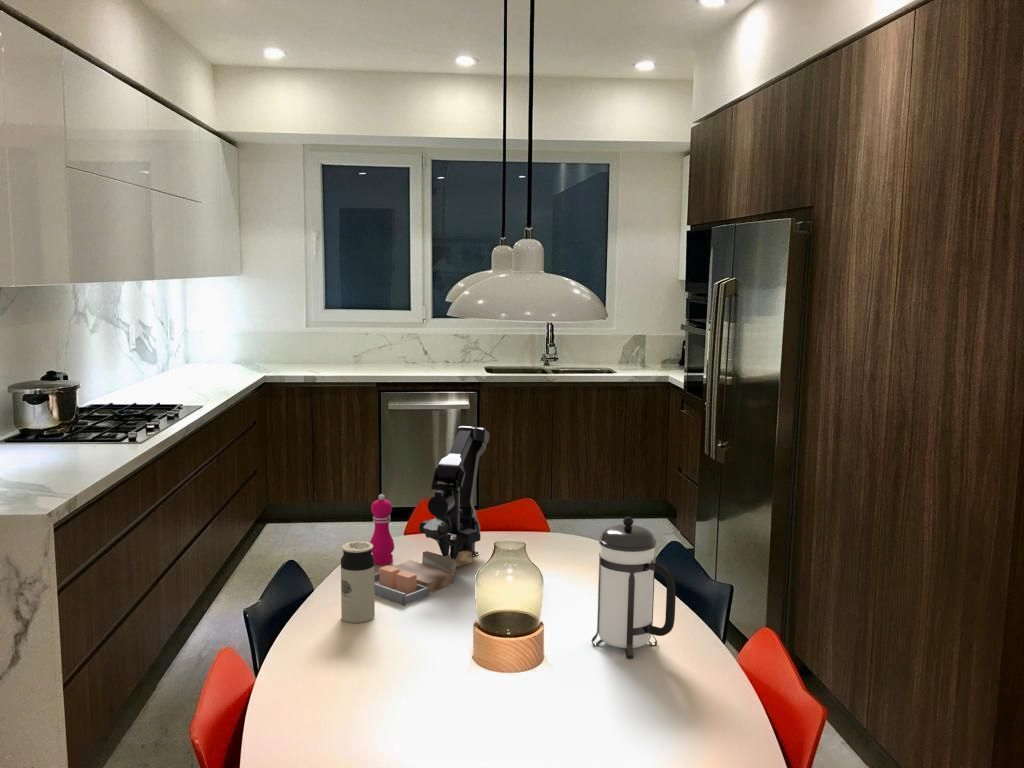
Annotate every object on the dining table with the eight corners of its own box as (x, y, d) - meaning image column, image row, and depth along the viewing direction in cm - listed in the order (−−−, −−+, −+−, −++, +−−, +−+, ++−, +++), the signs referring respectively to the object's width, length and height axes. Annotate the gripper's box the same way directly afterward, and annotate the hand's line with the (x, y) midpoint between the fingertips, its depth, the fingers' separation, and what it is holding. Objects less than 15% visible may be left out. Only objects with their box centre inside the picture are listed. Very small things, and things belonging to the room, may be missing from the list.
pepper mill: (366, 559, 254) (365, 492, 252) (390, 556, 257) (390, 490, 255) (373, 566, 248) (372, 498, 245) (397, 563, 251) (397, 496, 248)
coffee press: (593, 660, 190) (597, 527, 186) (589, 630, 206) (592, 507, 202) (673, 662, 189) (678, 529, 186) (663, 632, 205) (667, 508, 201)
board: (411, 570, 245) (411, 560, 245) (453, 583, 235) (453, 573, 235) (385, 580, 237) (385, 569, 237) (427, 594, 227) (427, 583, 227)
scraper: (454, 557, 255) (455, 543, 255) (483, 565, 249) (483, 551, 248) (422, 565, 245) (422, 551, 244) (450, 574, 238) (451, 560, 238)
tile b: (404, 570, 230) (396, 573, 228) (416, 574, 227) (408, 577, 225) (404, 587, 231) (396, 590, 228) (416, 591, 228) (408, 594, 225)
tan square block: (387, 565, 234) (379, 568, 232) (399, 569, 231) (391, 572, 229) (387, 581, 235) (379, 584, 232) (399, 585, 232) (391, 588, 230)
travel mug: (366, 608, 217) (366, 538, 215) (380, 619, 210) (379, 547, 208) (336, 615, 213) (335, 544, 210) (348, 626, 206) (348, 553, 204)
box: (381, 579, 238) (381, 569, 237) (428, 595, 226) (428, 584, 226) (356, 588, 231) (355, 577, 230) (403, 605, 219) (403, 594, 219)
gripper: (405, 507, 243) (405, 561, 245) (454, 519, 231) (454, 576, 233) (432, 499, 251) (432, 551, 253) (482, 510, 240) (481, 565, 242)
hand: (449, 561), depth 245 cm, fingers closed on scraper, 2 cm apart
